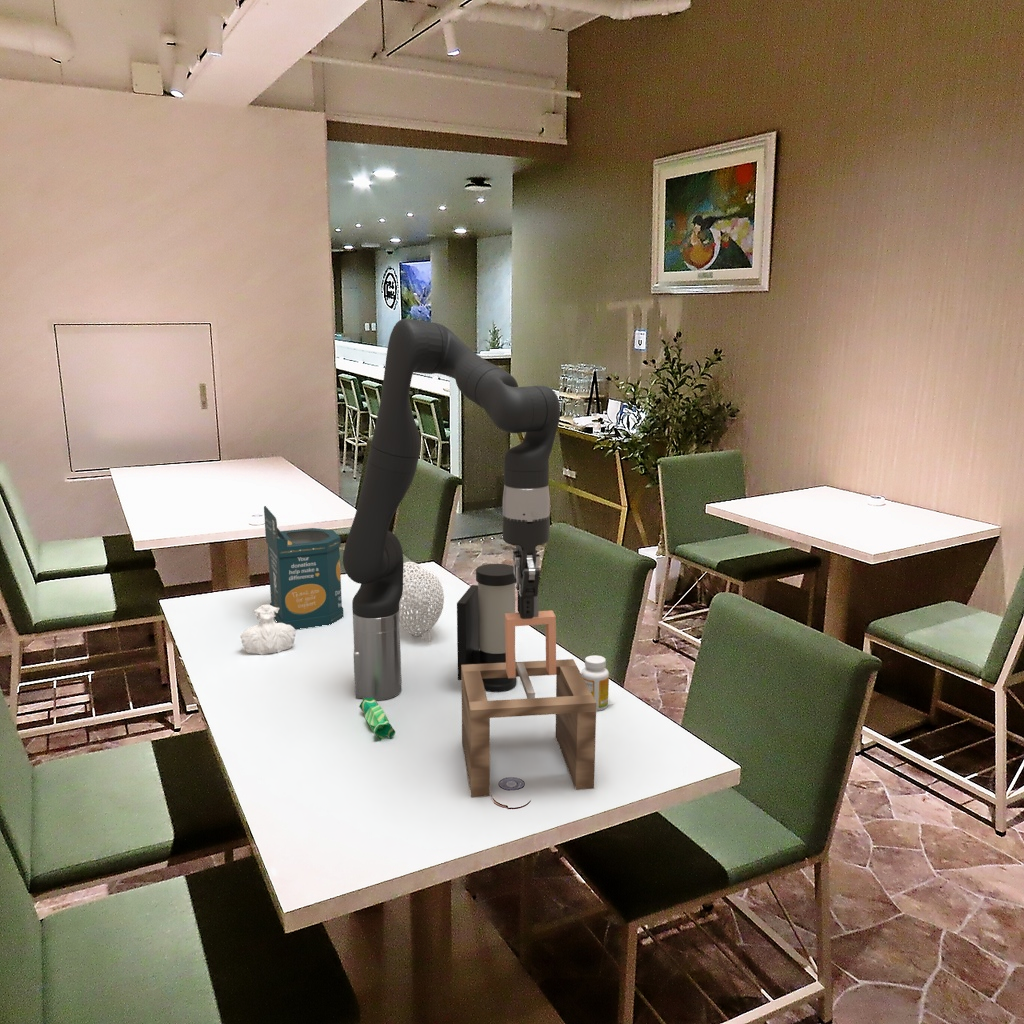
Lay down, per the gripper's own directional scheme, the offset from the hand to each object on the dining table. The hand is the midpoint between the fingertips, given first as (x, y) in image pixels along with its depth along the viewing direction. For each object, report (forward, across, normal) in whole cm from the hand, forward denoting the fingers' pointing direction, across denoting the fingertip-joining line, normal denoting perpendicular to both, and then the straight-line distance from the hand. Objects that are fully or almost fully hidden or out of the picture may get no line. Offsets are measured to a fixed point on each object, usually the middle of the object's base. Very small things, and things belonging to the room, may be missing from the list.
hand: (525, 615), depth 144 cm
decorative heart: (+27, -63, -16) cm, 70 cm away
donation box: (+27, -80, -43) cm, 95 cm away
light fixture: (+27, -34, -2) cm, 43 cm away
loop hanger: (+10, 0, +1) cm, 10 cm away
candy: (+27, -18, -25) cm, 41 cm away
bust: (+27, -59, -50) cm, 82 cm away
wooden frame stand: (+27, 0, 0) cm, 27 cm away
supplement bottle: (+27, -21, +17) cm, 38 cm away
